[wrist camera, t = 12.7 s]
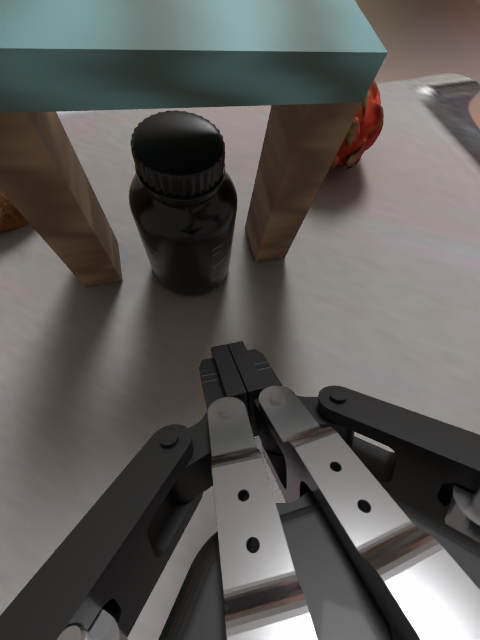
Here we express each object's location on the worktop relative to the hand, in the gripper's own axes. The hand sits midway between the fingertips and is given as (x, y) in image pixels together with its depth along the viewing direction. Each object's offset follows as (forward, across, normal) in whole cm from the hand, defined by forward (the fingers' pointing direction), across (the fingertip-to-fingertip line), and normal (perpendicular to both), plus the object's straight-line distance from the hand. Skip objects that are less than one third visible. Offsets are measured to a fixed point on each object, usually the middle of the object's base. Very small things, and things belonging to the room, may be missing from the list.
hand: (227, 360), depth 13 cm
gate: (+15, 0, -2) cm, 16 cm away
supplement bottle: (+15, 0, -1) cm, 15 cm away
